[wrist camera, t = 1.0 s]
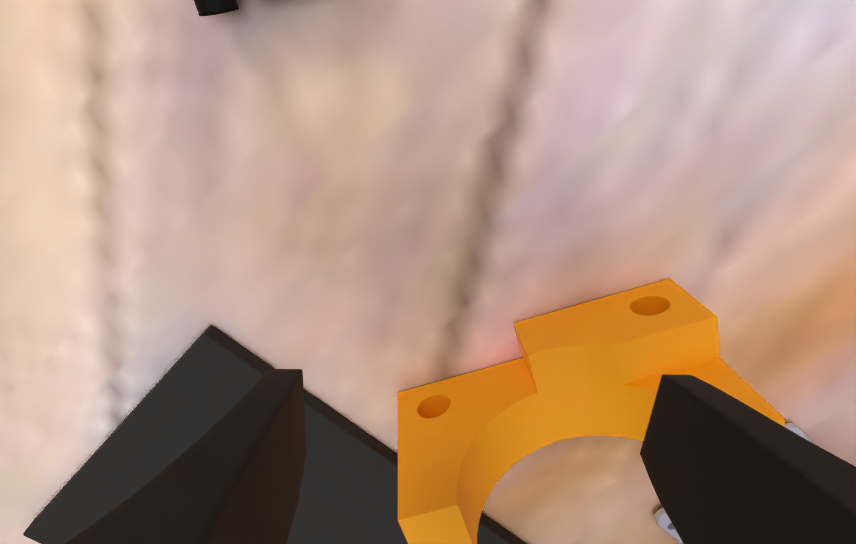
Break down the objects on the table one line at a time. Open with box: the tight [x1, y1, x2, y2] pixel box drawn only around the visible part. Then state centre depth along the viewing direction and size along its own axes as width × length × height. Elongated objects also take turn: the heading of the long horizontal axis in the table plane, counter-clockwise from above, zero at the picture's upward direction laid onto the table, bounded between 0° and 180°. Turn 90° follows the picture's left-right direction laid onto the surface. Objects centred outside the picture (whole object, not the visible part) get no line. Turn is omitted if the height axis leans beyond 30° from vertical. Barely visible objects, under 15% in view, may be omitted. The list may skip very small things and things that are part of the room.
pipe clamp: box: [398, 278, 785, 544], centre depth 18 cm, size 12×4×6 cm, turn 107°
